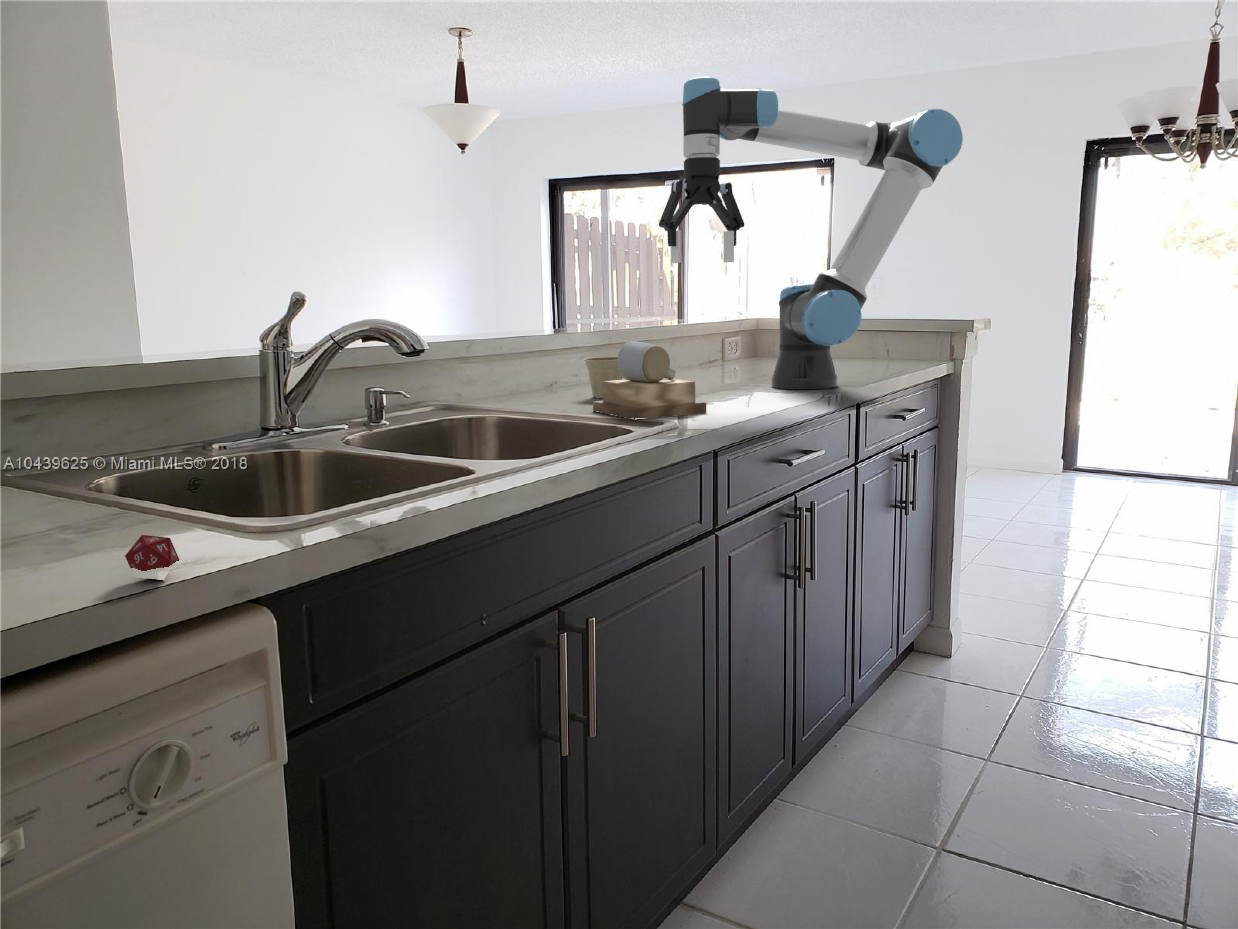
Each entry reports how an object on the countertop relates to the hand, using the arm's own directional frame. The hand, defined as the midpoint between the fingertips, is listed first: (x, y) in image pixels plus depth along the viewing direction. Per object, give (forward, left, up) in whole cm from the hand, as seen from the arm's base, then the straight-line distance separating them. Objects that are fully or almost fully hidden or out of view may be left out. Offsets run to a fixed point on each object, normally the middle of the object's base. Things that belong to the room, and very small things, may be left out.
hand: (702, 262), depth 199 cm
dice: (+113, +79, -29) cm, 141 cm away
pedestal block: (+22, +13, -27) cm, 37 cm away
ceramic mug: (+22, +13, -23) cm, 34 cm away
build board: (+22, +13, -29) cm, 38 cm away
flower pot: (+16, -15, -29) cm, 36 cm away
